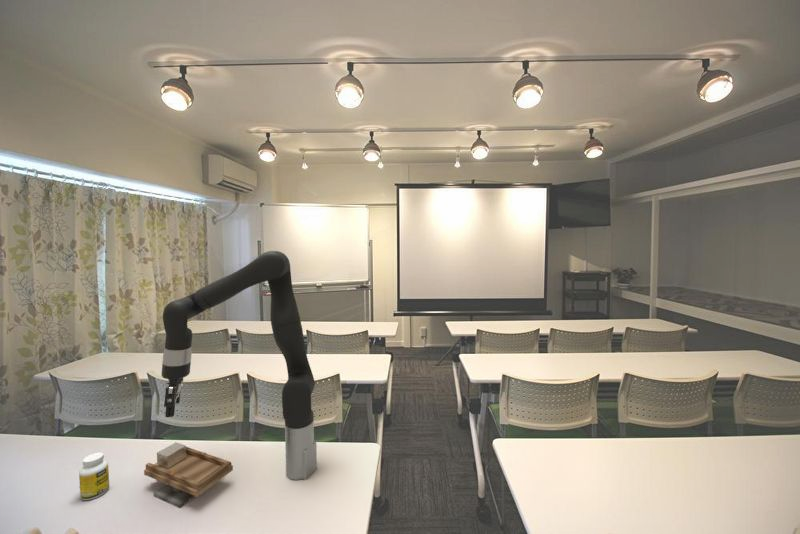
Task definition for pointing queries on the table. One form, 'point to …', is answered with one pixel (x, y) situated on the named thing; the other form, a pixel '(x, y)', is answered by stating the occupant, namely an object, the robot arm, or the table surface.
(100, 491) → the pill bottle
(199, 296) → the robot arm
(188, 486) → the wooden tray
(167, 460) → the block
